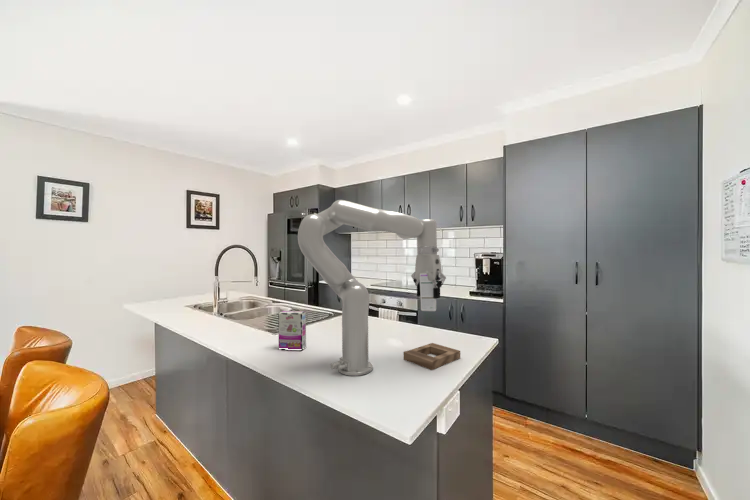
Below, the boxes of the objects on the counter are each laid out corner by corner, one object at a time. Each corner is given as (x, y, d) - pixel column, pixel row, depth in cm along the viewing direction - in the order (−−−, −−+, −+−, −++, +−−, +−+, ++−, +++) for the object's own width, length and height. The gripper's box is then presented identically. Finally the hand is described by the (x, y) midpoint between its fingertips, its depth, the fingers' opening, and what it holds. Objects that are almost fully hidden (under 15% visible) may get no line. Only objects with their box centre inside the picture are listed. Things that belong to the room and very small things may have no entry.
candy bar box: (306, 347, 133) (306, 311, 133) (302, 351, 128) (301, 313, 128) (283, 346, 135) (283, 310, 135) (277, 350, 130) (277, 312, 130)
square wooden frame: (431, 370, 107) (431, 361, 107) (403, 359, 118) (403, 352, 118) (460, 358, 119) (460, 350, 119) (432, 349, 129) (432, 342, 129)
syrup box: (436, 311, 111) (435, 272, 111) (420, 311, 113) (419, 272, 113) (436, 308, 117) (435, 271, 117) (421, 308, 118) (420, 271, 118)
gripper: (451, 250, 110) (453, 298, 110) (417, 251, 124) (418, 293, 124) (438, 251, 106) (440, 300, 106) (404, 252, 119) (405, 295, 119)
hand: (428, 296), depth 115 cm, fingers closed on syrup box, 7 cm apart
